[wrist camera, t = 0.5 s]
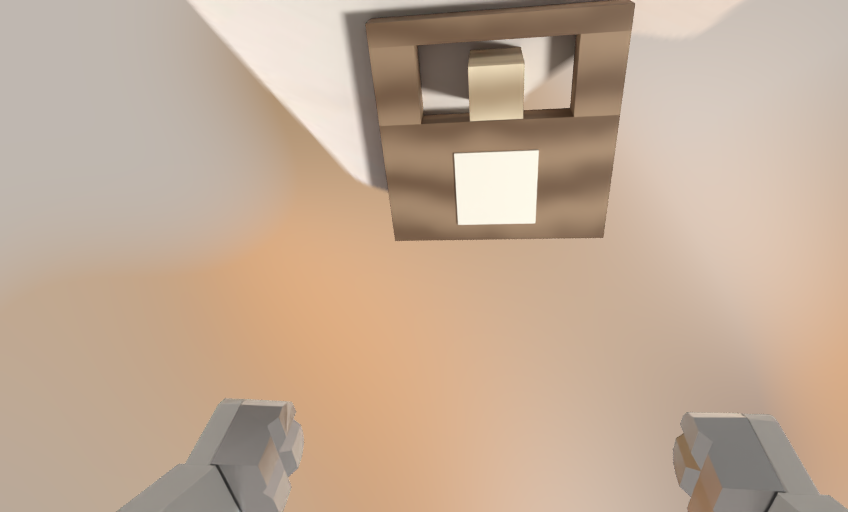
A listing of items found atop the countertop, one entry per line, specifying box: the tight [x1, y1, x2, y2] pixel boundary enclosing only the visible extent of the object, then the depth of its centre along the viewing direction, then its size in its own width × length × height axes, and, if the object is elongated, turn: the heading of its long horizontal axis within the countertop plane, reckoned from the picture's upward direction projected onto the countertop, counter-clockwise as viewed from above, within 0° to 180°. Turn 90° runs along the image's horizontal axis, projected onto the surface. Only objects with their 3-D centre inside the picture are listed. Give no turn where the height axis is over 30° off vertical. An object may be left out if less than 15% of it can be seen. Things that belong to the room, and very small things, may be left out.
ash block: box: [468, 47, 525, 121], centre depth 44 cm, size 4×4×6 cm
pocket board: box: [365, 0, 635, 241], centre depth 48 cm, size 22×22×3 cm
